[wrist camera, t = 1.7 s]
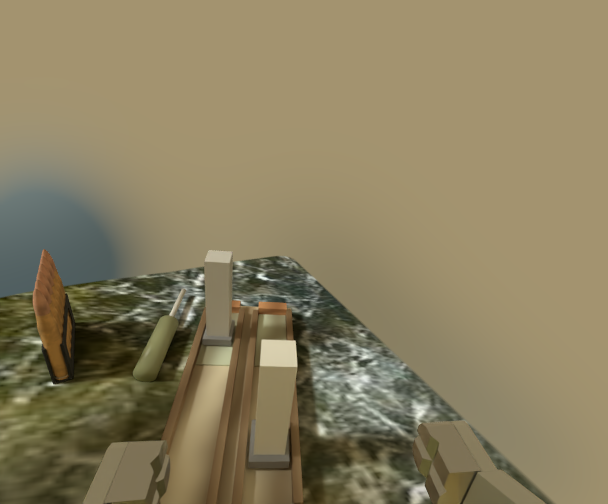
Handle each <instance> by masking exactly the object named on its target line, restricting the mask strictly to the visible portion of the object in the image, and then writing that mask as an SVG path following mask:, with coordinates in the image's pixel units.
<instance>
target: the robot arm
mask: <svg viewBox="0 0 608 504" xmlns="http://www.w3.org/2000/svg"><path fill="white" fill-rule="evenodd" d="M417 431H418V433H419V436H418V437H417V438H415V439H414V443H413V456H414V460H415V463H416V466H417V468H418V471H419V472H420V473H421V474H423V475H424V476H425V477H426V482H425V487H426V490H427V492H428V494H429V497H430V499H431V501H432V504H546V503H544V502H543V501H542V500H540V499H539V498H538V497H537V496H535V495H534V494H533V493H531V492H530V491H529V490H527V489H526V488H525V487H524V486H522V485H521V484H520V483H518V482H517V481H516V480H514V479H513V478H512V477H510V476H509V475H508V474H507V473H505V472H504V471H503V470H497V468H496V467H495V465H494V464H493V462H492V461H491V459H490V458H489V456H488V455H487V453H486V451H485V450H484V448H483V447H482V445H481V444H480V442H479V441H478V439H477V437H476V436H475V434H474V433H473V431H472V430H471V428H470V427H469V425H468V424H467V423H466V422H465V421H450V422H448V421H444V422H432V423H421V424H420V425H419V427H418V430H417ZM167 448H168V445H167V441H166V440H155V441H136V442H116V443H111V445H110V446H109V447H108V448H107V450H106V452H105V455H104V457H103V459H102V461H101V463H100V466H99V468H98V470H97V472H96V474H95V476H94V479H93V481H92V483H91V485H90V487H89V490H88V492H87V494H86V496H85V498H84V501H83V503H82V504H161V503H160V499H161V497H162V496H163V495H164V494H165V493H166V491H167V486H168V482H169V476H170V456H168V455H167V454H166V452H167Z"/></svg>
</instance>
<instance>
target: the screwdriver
mask: <svg viewBox="0 0 608 504" xmlns="http://www.w3.org/2000/svg"><path fill="white" fill-rule="evenodd" d="M185 292H186V290H185V289H182V290H181V292H180V294H179V296H178V298H177V300H176V302H175V305H174V307H173V309H172V311H171V313H170V315H169V316H163V317H161V318H160V320H159V322H158V323H157V325H156V327H155V329H154V331H153V333H152V335H151V337H150V339H149V341H148V343H147V345H146V347H145V349H144V351H143V353H142V355H141V357H140V359H139V361H138V363H137V365H136V367H135V369H134V371H133V376H134V378H135V379H137V380H138V381H141V382H152V381H154V380H155V379H156V377H157V375H158V372H159V370H160V368H161V365H162V363H163V360H164V358H165V356H166V353H167V351H168V348H169V346H170V344H171V341H172V339H173V337H174V334H175V332H176V329H177V327H178V321H177V319H176V318H174V316H175V314H176V312H177V310H178V308H179V305H180V303H181V301H182V299H183V296H184V294H185Z"/></svg>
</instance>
